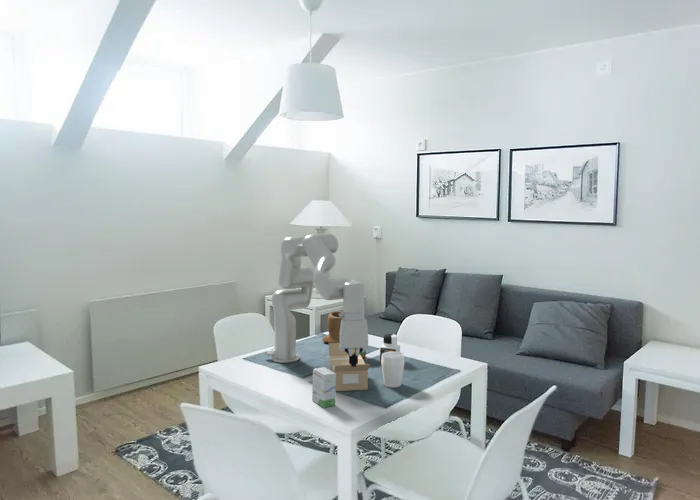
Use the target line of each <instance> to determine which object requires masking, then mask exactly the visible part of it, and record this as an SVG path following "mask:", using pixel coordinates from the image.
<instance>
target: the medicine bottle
mask: <svg viewBox="0 0 700 500" xmlns="http://www.w3.org/2000/svg"><path fill="white" fill-rule="evenodd" d="M390 351H394V352H400V353H401V344H398V335H396V334H394V333H387V334H384V335H383V343H382V345H381V346H380V347H379V356H380V357H379V363H381V359H382V353H384V352H390Z"/></svg>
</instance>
